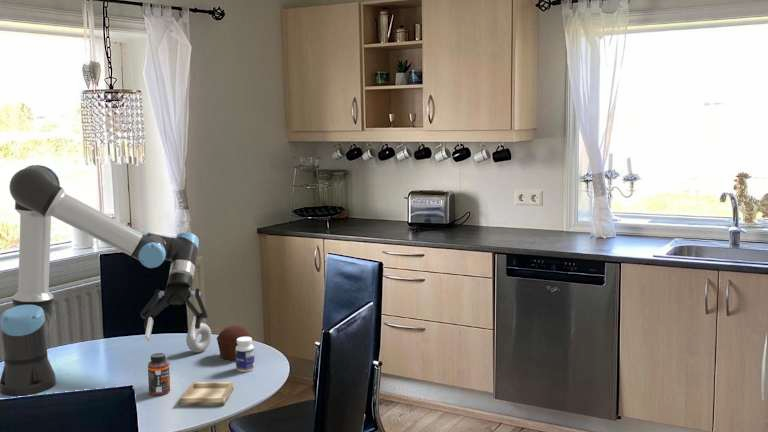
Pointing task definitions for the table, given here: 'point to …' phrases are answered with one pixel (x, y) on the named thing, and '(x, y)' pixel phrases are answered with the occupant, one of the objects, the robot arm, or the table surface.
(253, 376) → the table surface
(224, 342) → the muffin
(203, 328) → the donut
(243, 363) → the pill bottle
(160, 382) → the supplement bottle
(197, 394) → the birch tray
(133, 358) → the table surface
